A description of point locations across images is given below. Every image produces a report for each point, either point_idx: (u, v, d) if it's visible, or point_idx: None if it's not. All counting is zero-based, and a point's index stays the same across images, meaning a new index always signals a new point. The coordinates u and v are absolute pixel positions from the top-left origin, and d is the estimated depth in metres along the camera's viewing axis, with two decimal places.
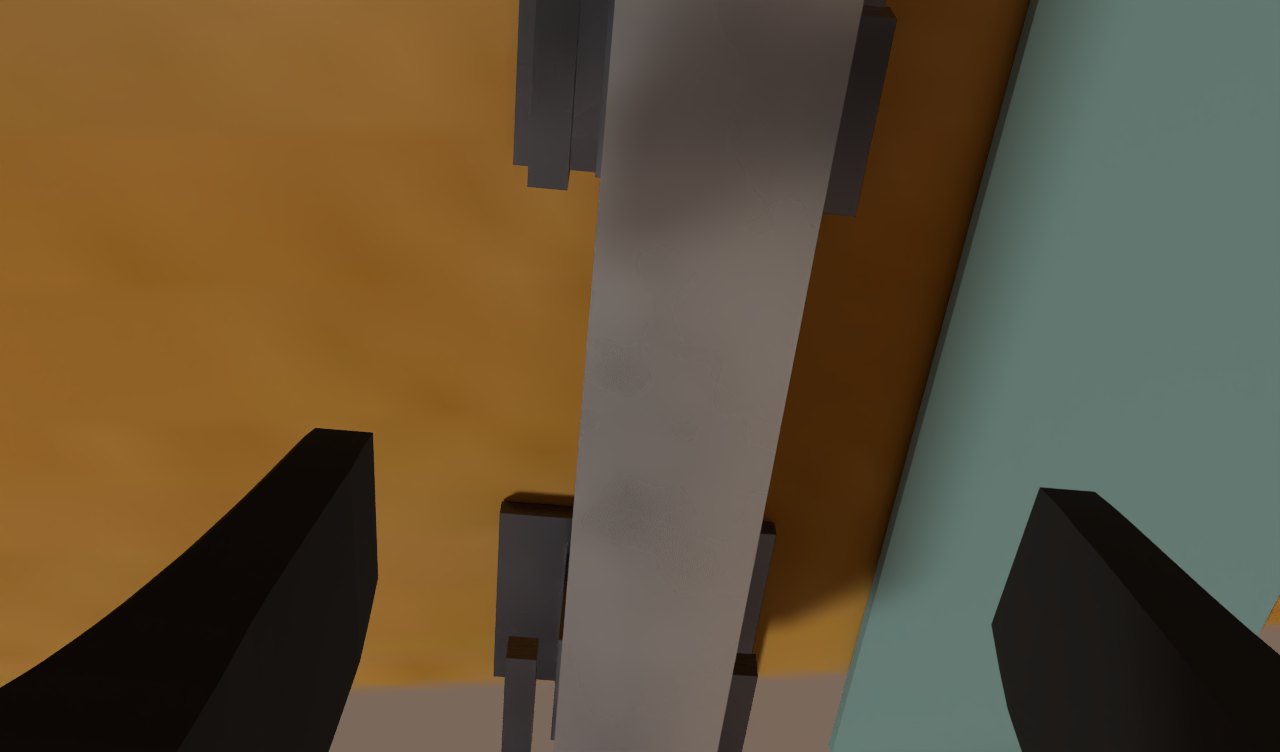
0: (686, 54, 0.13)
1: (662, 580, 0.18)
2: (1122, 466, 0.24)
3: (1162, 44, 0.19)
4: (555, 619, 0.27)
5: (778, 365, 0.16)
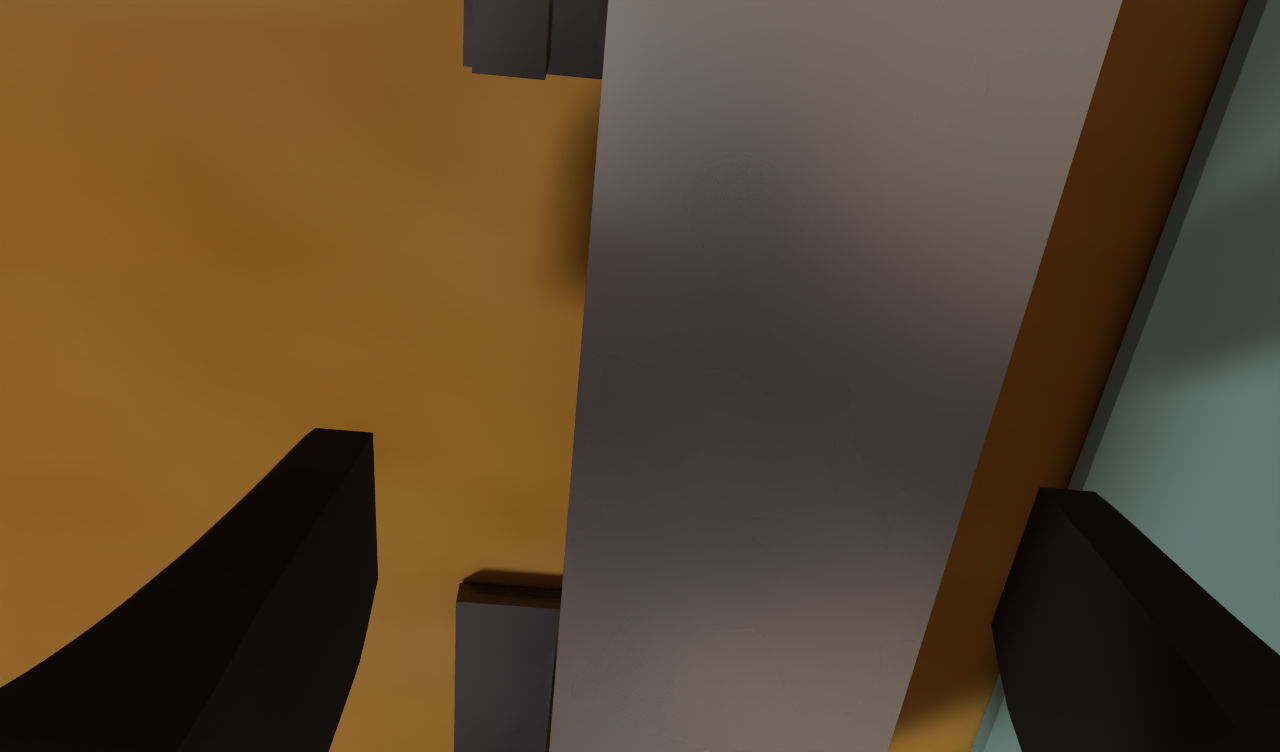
0: None
1: None
2: None
3: None
4: (540, 745, 0.19)
5: (966, 408, 0.08)
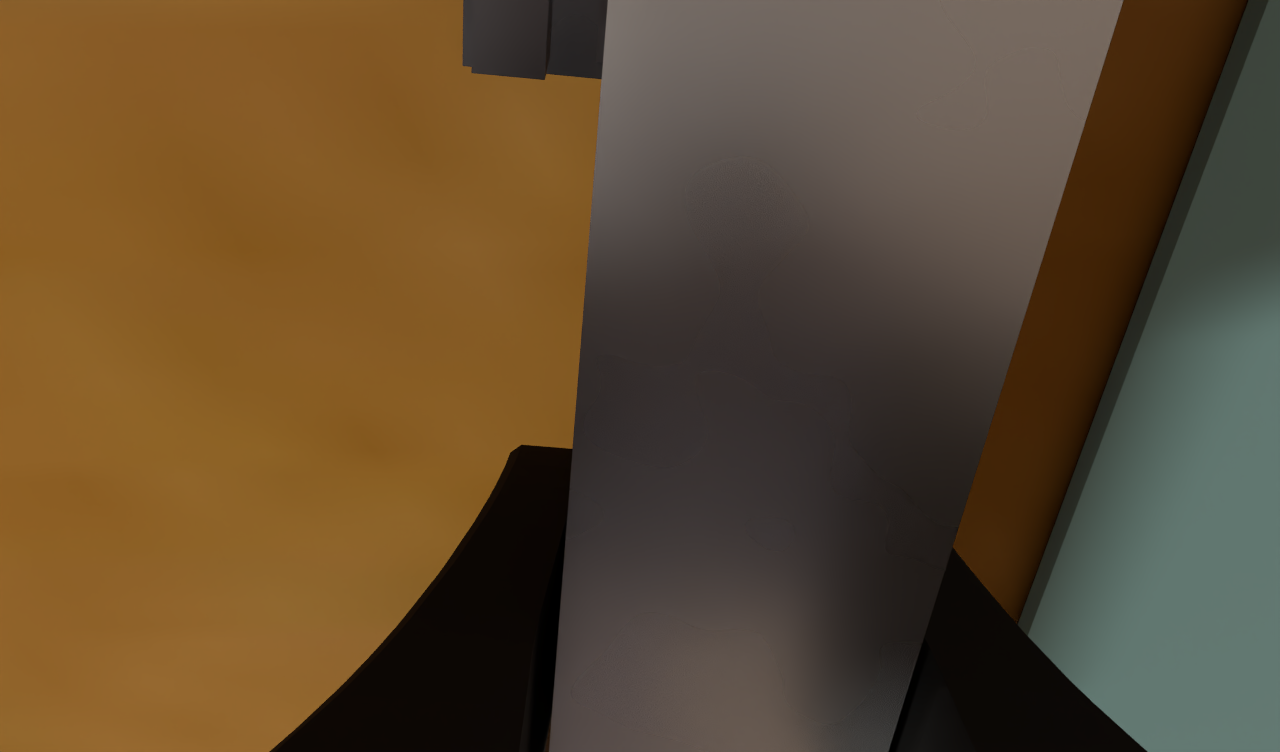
0: None
1: None
2: None
3: None
4: None
5: (967, 408, 0.08)
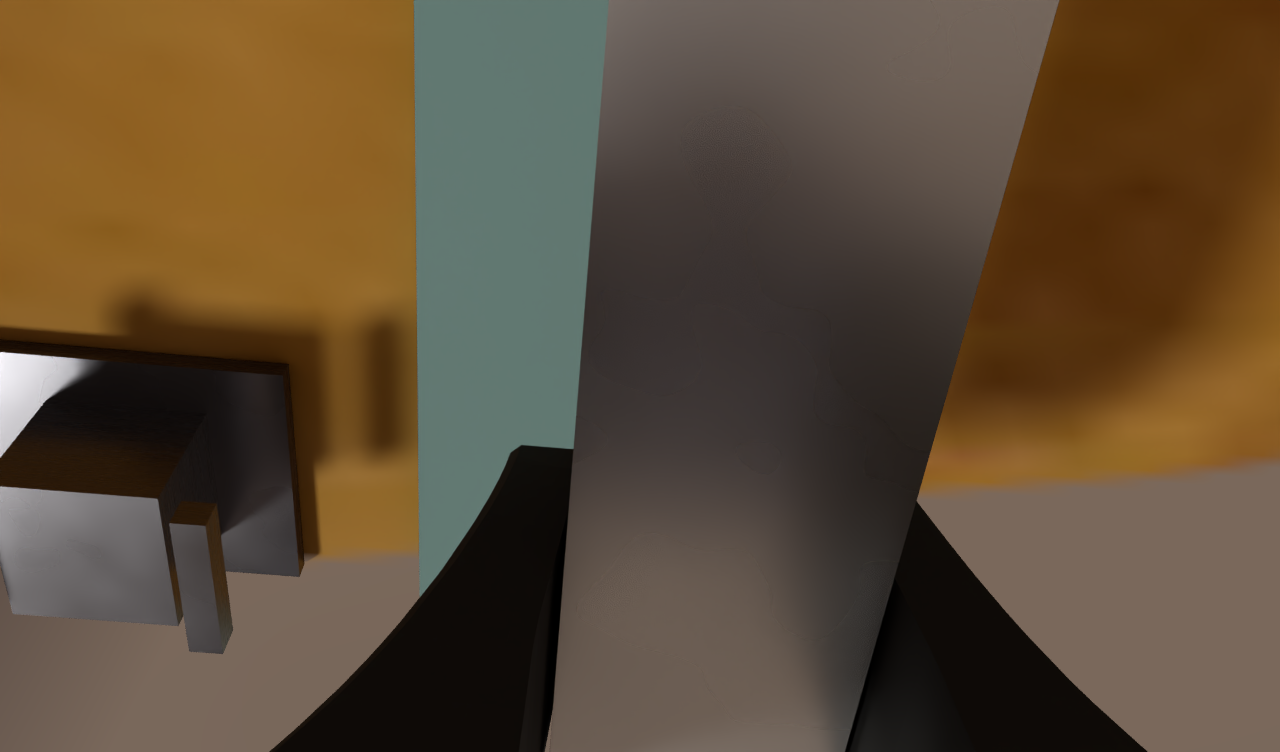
0: None
1: (711, 701, 0.11)
2: None
3: None
4: None
5: (936, 339, 0.09)
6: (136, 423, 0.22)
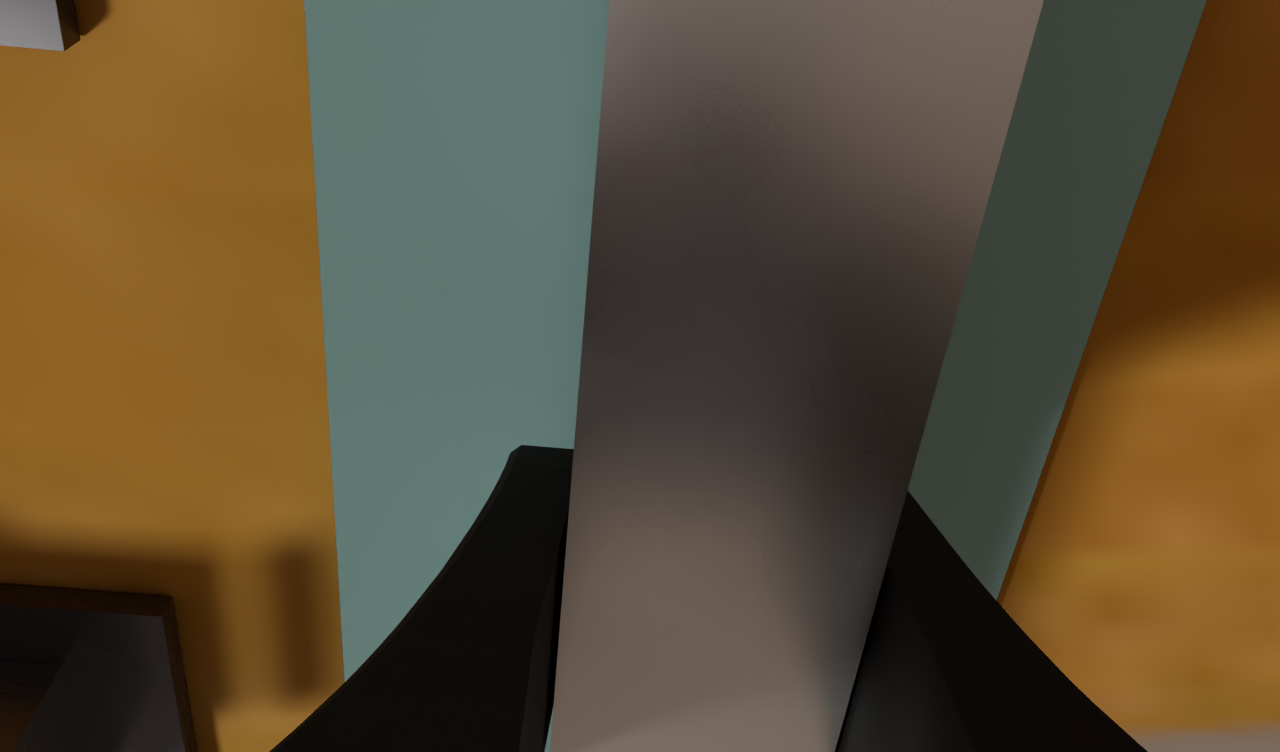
0: None
1: (710, 677, 0.11)
2: None
3: None
4: None
5: (929, 318, 0.09)
6: None
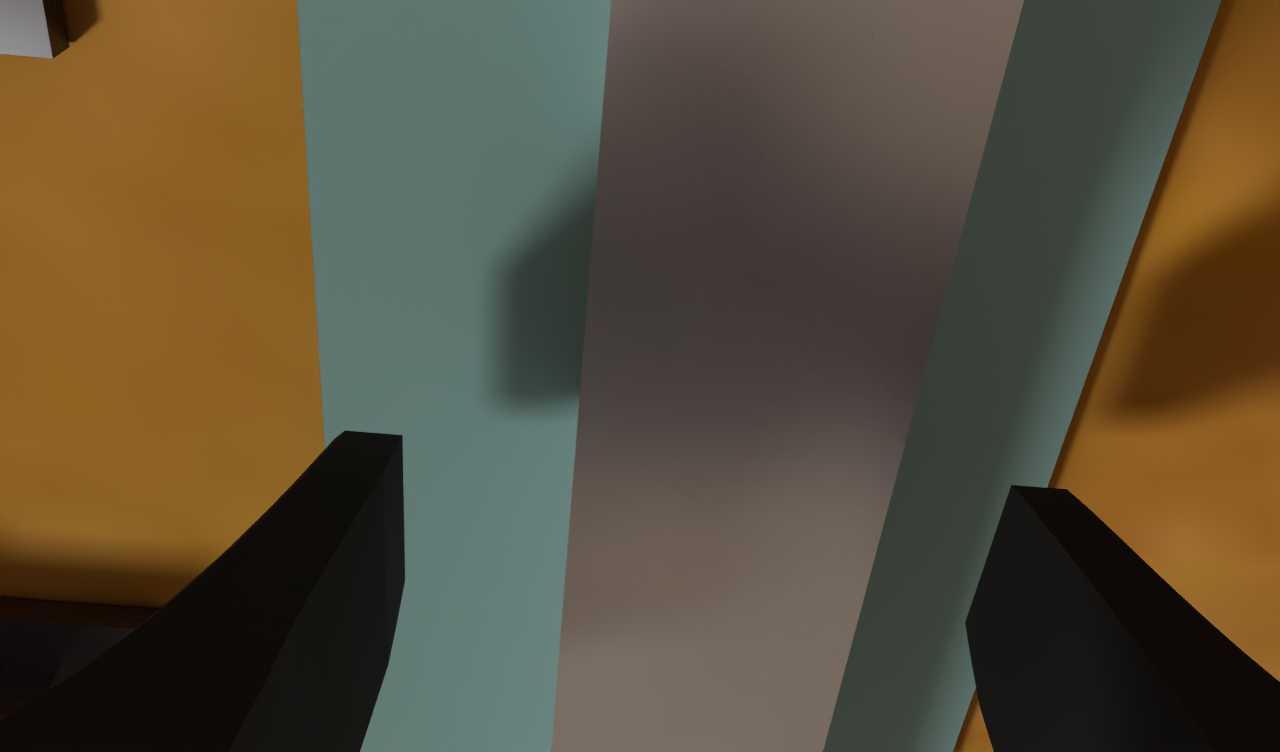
0: None
1: (709, 649, 0.11)
2: None
3: None
4: None
5: (920, 295, 0.09)
6: None
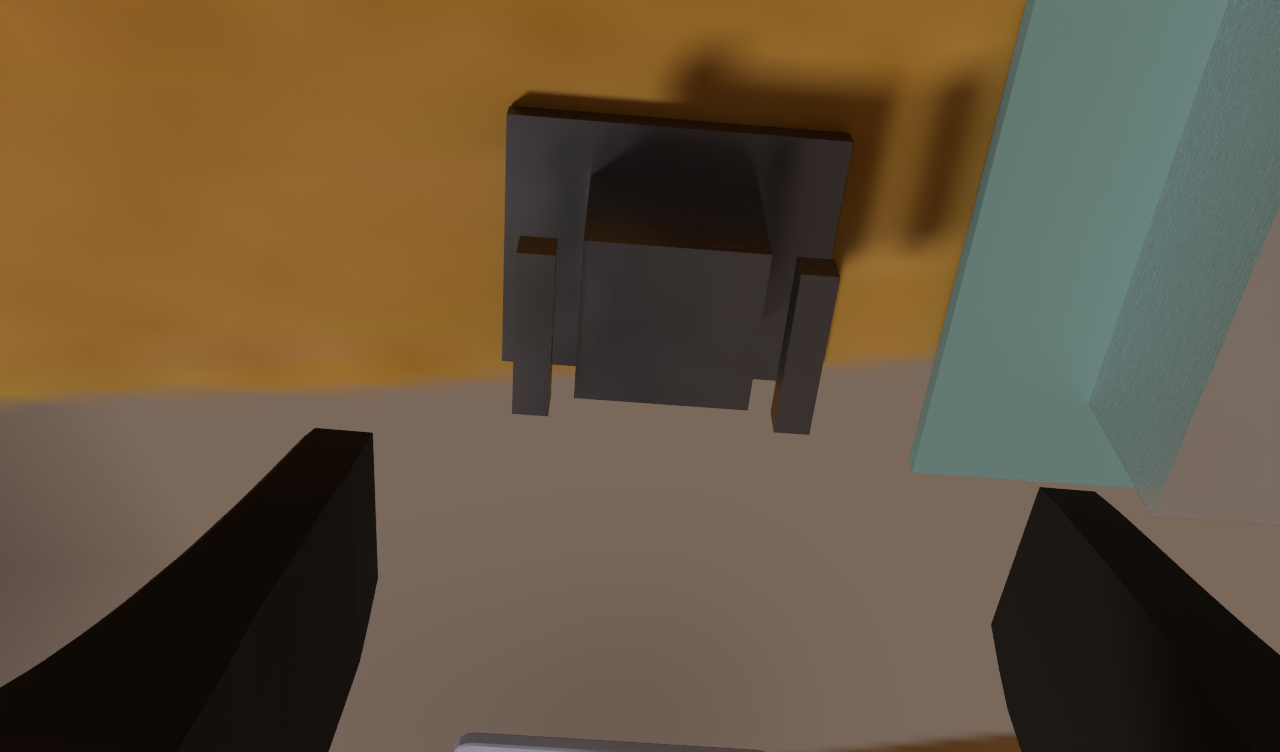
0: None
1: None
2: None
3: None
4: (578, 275, 0.22)
5: None
6: (697, 195, 0.20)
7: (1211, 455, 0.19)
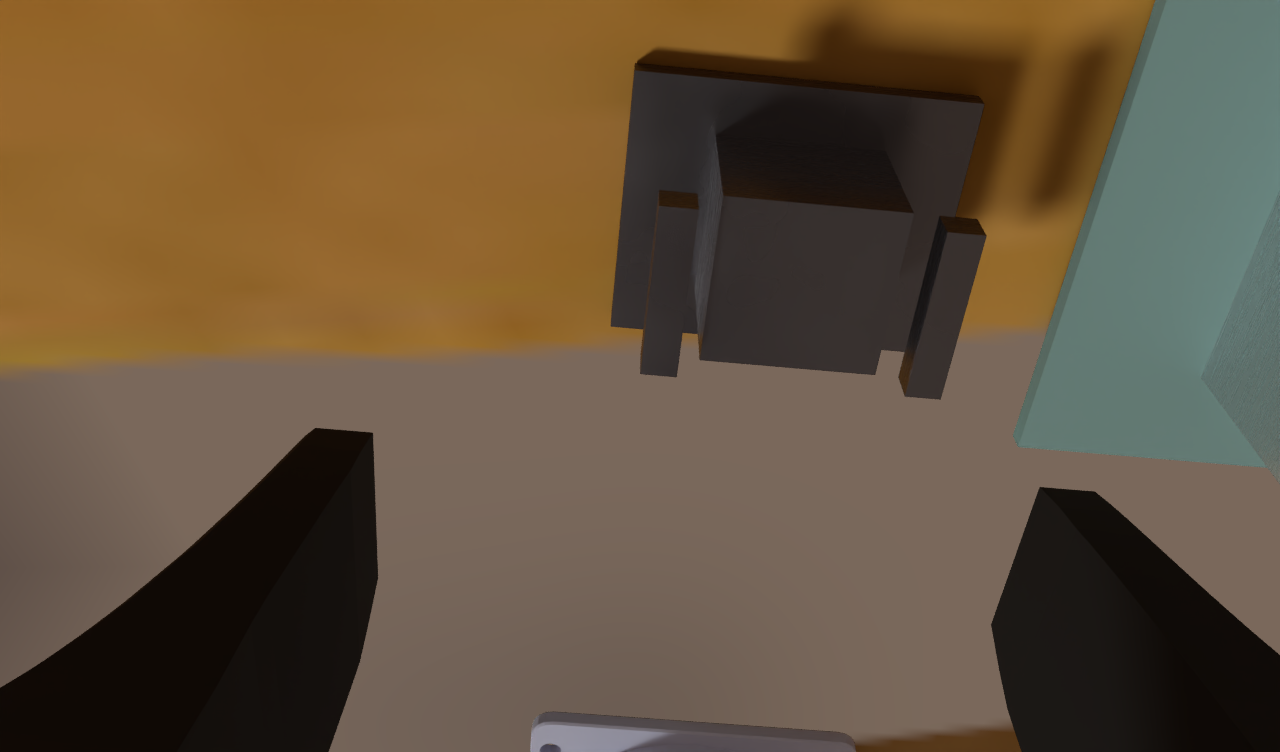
0: None
1: None
2: None
3: None
4: (694, 238, 0.21)
5: None
6: (825, 155, 0.20)
7: None
